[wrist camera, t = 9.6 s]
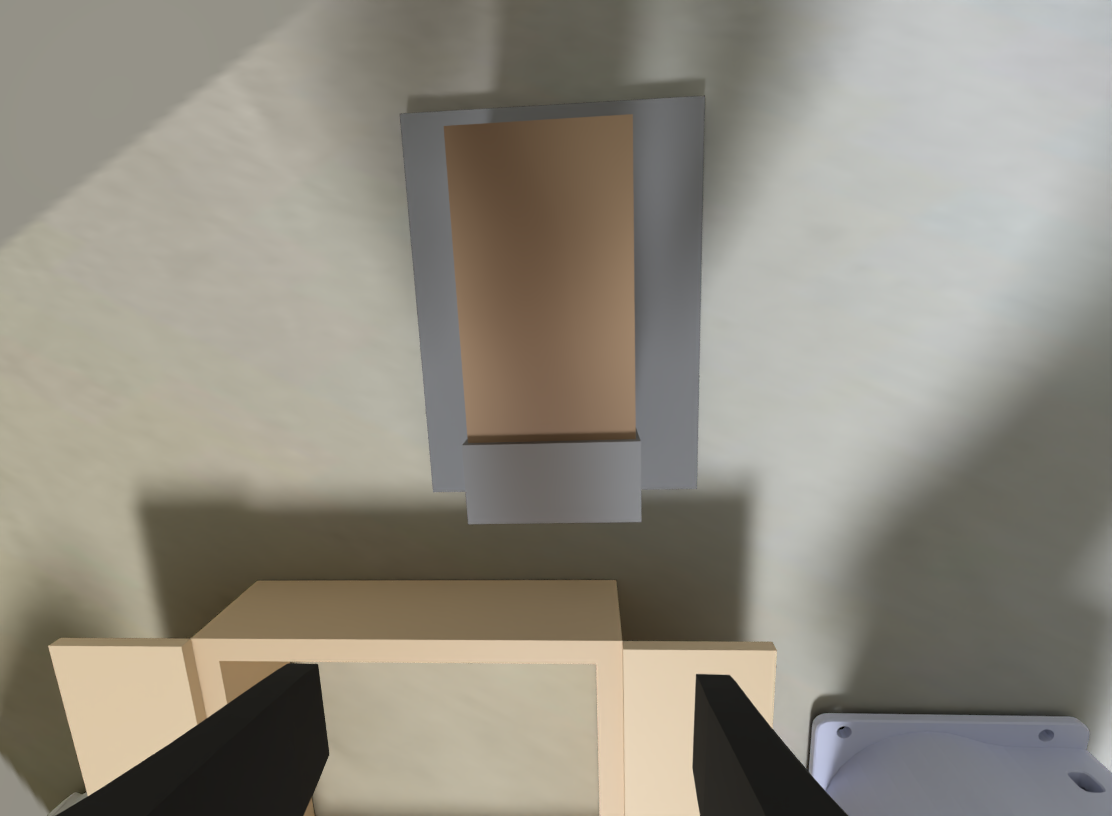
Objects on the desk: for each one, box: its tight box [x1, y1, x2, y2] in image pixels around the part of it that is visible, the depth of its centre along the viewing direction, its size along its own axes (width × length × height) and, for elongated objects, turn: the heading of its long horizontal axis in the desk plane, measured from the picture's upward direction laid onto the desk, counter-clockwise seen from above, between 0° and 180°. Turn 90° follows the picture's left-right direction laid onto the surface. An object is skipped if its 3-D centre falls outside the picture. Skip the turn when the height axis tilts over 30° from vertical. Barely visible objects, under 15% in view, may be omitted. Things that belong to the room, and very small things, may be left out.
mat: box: [400, 96, 705, 492], centre depth 17 cm, size 9×12×1 cm
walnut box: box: [444, 114, 641, 524], centre depth 15 cm, size 4×9×5 cm, turn 2°
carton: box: [48, 580, 777, 816], centre depth 20 cm, size 22×15×4 cm, turn 92°
